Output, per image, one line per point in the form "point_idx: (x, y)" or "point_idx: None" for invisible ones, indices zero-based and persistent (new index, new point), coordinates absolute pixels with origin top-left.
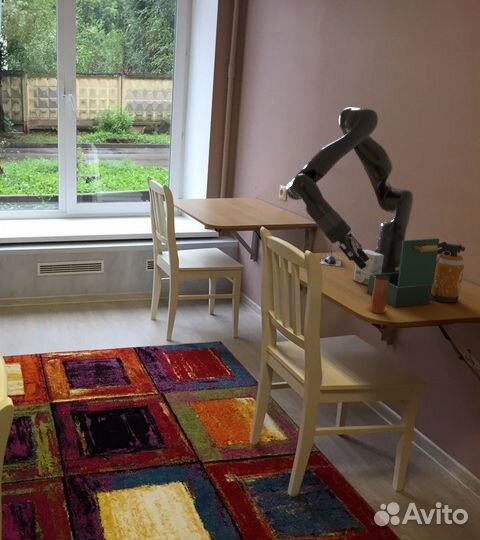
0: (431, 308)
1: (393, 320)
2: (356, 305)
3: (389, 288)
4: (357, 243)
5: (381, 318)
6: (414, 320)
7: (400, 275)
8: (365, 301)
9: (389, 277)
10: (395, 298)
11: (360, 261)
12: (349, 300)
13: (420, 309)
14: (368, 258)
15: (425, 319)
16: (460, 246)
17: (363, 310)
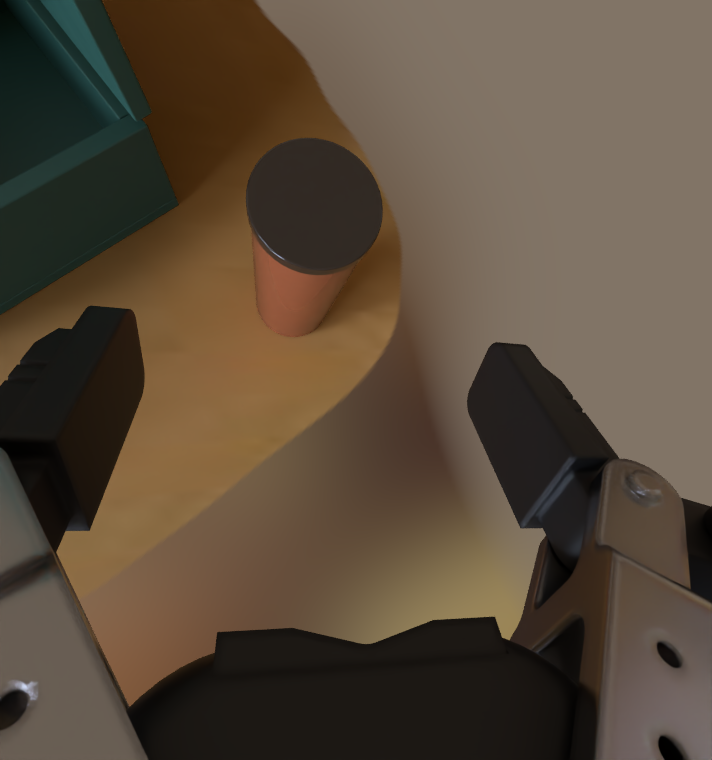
0: (113, 13)
1: (395, 231)
2: (243, 412)
3: (79, 193)
4: (68, 664)
5: (393, 284)
6: (351, 134)
7: (115, 31)
8: None
9: (329, 141)
10: (161, 180)
11: (590, 423)
12: (164, 458)
13: (159, 75)
14: (126, 315)
15: (314, 81)
16: None
17: (313, 371)
